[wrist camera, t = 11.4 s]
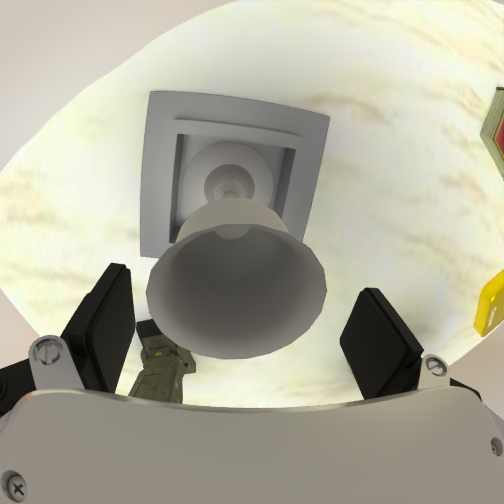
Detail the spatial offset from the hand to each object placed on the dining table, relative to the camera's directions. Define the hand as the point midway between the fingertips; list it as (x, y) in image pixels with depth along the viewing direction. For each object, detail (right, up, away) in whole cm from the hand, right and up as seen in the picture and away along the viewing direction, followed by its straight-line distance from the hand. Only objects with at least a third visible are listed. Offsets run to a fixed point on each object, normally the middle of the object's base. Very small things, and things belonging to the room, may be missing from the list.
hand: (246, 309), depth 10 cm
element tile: (+58, -8, +34) cm, 68 cm away
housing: (-2, +9, +17) cm, 20 cm away
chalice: (-2, +9, +16) cm, 19 cm away
